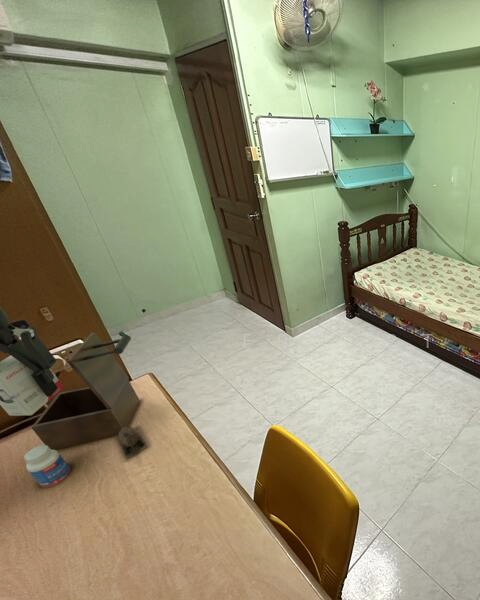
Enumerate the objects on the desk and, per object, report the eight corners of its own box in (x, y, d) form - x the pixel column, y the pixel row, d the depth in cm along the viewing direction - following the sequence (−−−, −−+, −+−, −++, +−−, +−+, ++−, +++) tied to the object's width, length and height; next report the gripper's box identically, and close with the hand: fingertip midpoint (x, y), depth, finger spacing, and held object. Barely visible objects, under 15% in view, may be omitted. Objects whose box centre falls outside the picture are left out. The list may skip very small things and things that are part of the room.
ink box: (45, 388, 76) (16, 350, 70) (67, 387, 76) (39, 349, 71) (7, 417, 69) (-29, 377, 63) (31, 416, 69) (-3, 376, 63)
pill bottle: (57, 488, 75) (34, 463, 71) (34, 488, 75) (11, 463, 71) (77, 467, 80) (58, 442, 75) (57, 466, 80) (36, 442, 75)
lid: (66, 361, 75) (111, 350, 77) (91, 332, 85) (130, 323, 87) (108, 409, 84) (147, 398, 86) (126, 378, 94) (160, 369, 96)
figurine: (153, 457, 83) (140, 436, 78) (132, 470, 80) (118, 448, 75) (137, 429, 90) (125, 407, 86) (118, 439, 87) (104, 418, 83)
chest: (51, 452, 84) (30, 427, 79) (75, 416, 94) (58, 392, 89) (125, 434, 89) (110, 410, 84) (140, 402, 99) (128, 379, 94)
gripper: (-124, 328, 54) (-36, 418, 66) (19, 311, 60) (77, 397, 71) (-83, 307, 61) (-10, 393, 72) (43, 294, 66) (92, 375, 77)
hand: (33, 395), depth 72 cm, fingers closed on ink box, 6 cm apart
